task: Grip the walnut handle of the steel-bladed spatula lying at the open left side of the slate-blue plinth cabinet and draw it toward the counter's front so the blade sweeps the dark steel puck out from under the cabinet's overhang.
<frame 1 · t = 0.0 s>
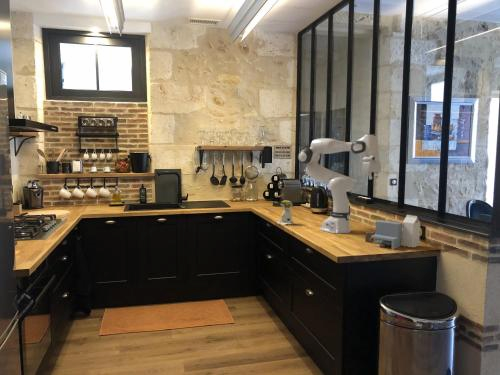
hand: (373, 178, 269), 39 cm above the worktop, tool pointing down, fingers open, 8 cm apart
potted plant: (285, 224, 315), on the worktop
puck: (383, 246, 245), on the worktop
milk carton: (410, 246, 245), on the worktop
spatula: (369, 241, 256), on the worktop
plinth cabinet: (386, 245, 246), on the worktop
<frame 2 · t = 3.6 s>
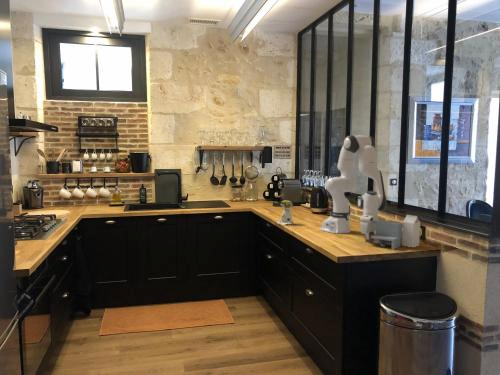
hand: (369, 238, 256), 2 cm above the worktop, tool pointing down, fingers closed on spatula, 4 cm apart
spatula: (369, 241, 256), on the worktop, touching gripper
everything else where it was.
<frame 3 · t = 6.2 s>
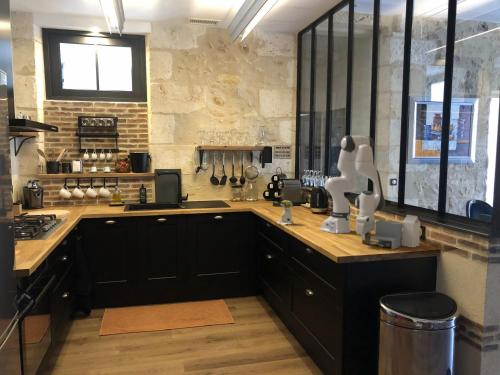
hand: (365, 239, 251), 3 cm above the worktop, tool pointing down, fingers closed on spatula, 4 cm apart
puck: (382, 246, 243), on the worktop, touching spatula
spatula: (366, 243, 251), on the worktop, touching gripper, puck
everything else where it was.
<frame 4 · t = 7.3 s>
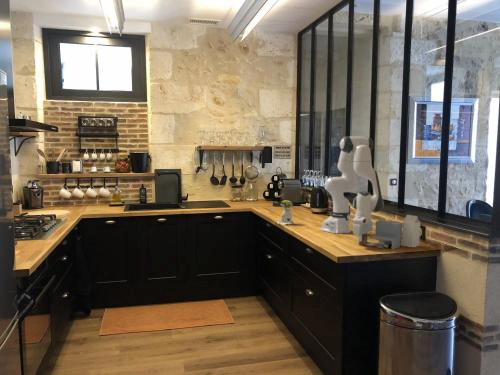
hand: (362, 240, 248), 3 cm above the worktop, tool pointing down, fingers closed on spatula, 4 cm apart
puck: (380, 248, 240), on the worktop, touching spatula
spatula: (363, 244, 248), on the worktop, touching gripper, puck
everything else where it was.
when the fingers open (2 cm above the worktop, at t = 8.5 s): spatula stays where it is, on the worktop.
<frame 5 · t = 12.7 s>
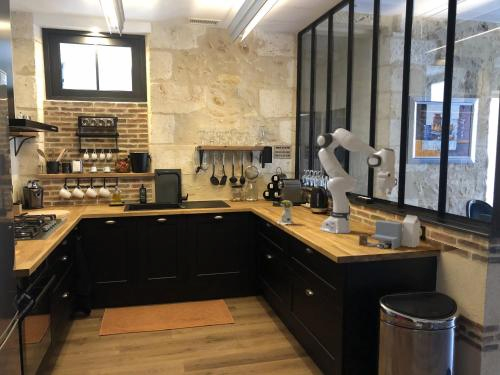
hand: (386, 195, 260), 29 cm above the worktop, tool pointing down, fingers open, 8 cm apart
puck: (380, 248, 240), on the worktop
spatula: (363, 244, 248), on the worktop
everything else where it was.
at the end: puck inside the target area (7.1 cm from its centre), on the worktop; the gripper is holding nothing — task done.
